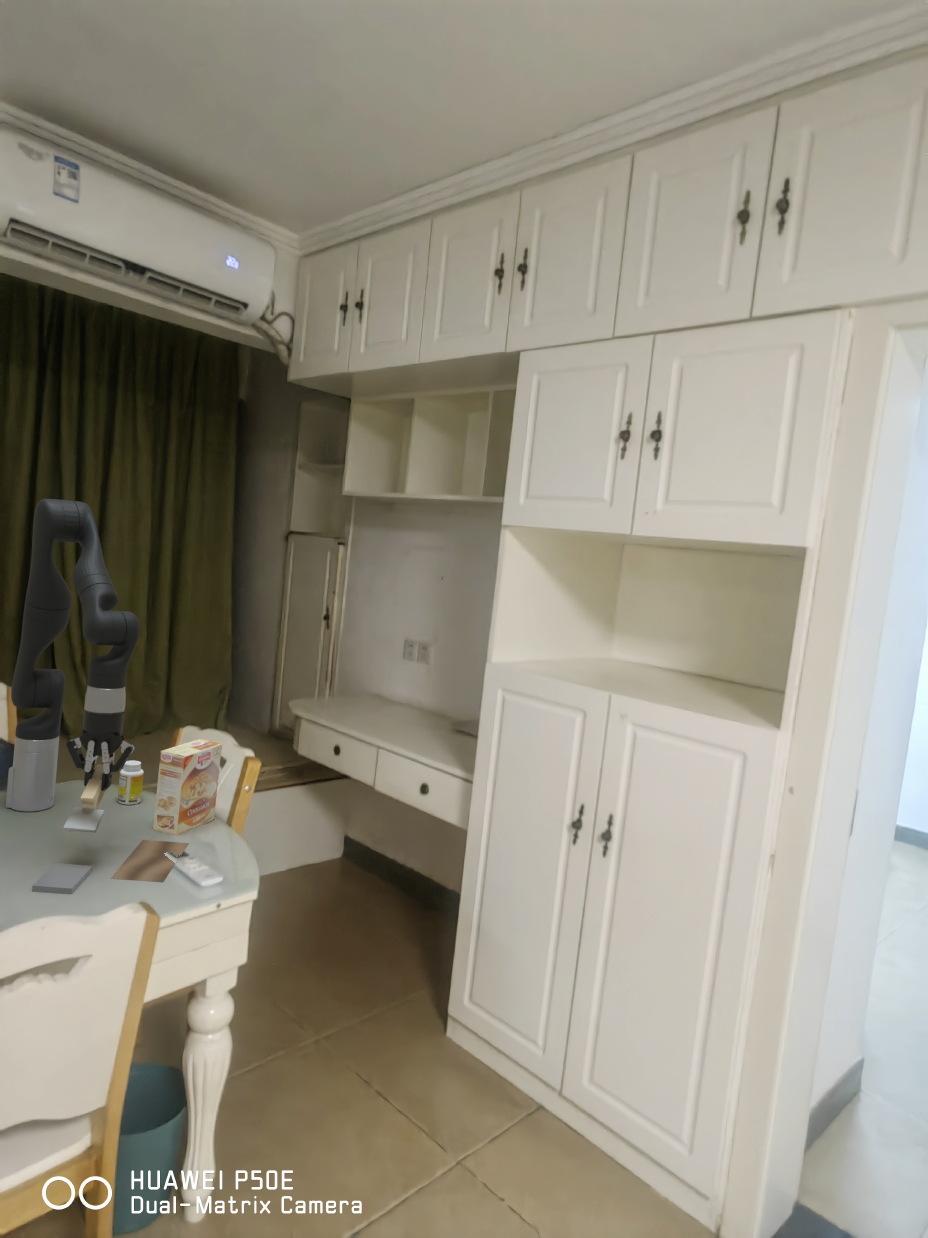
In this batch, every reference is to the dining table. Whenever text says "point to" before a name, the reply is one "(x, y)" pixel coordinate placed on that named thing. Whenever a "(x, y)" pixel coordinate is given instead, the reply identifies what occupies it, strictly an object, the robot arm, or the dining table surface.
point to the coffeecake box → (187, 786)
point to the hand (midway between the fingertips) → (97, 788)
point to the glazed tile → (62, 878)
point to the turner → (88, 806)
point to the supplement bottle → (130, 783)
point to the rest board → (150, 861)
